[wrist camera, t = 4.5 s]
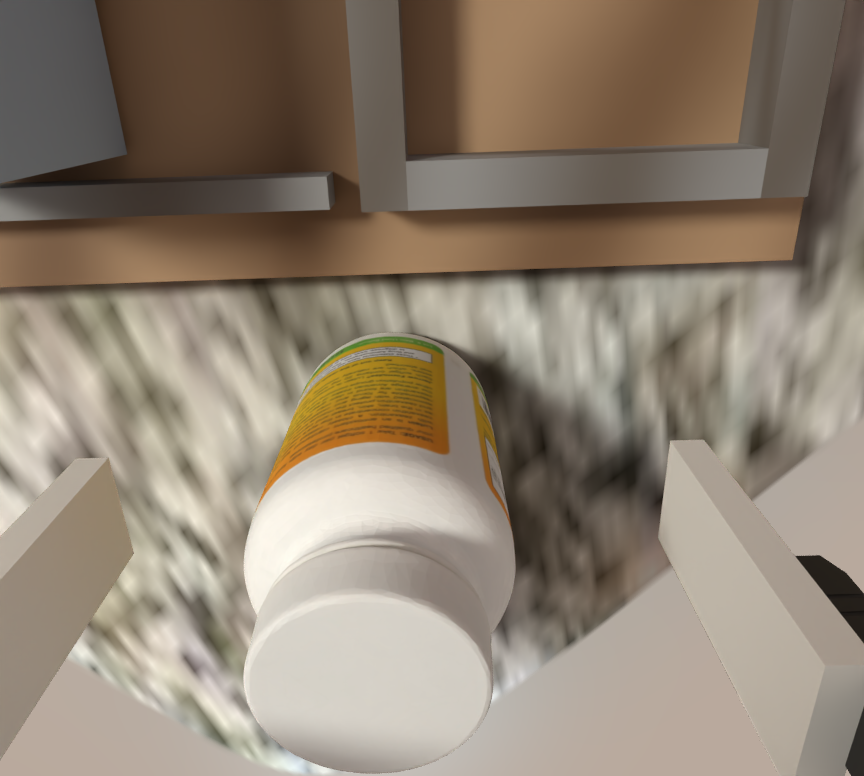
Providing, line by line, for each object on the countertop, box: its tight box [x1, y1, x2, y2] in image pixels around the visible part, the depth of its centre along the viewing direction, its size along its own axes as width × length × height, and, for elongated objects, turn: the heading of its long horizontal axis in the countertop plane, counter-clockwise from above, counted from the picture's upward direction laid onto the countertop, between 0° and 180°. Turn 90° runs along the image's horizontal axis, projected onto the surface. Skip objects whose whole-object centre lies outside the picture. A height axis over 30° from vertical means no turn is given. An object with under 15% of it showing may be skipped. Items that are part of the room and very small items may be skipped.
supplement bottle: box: [244, 332, 515, 773], centre depth 15 cm, size 5×5×10 cm
